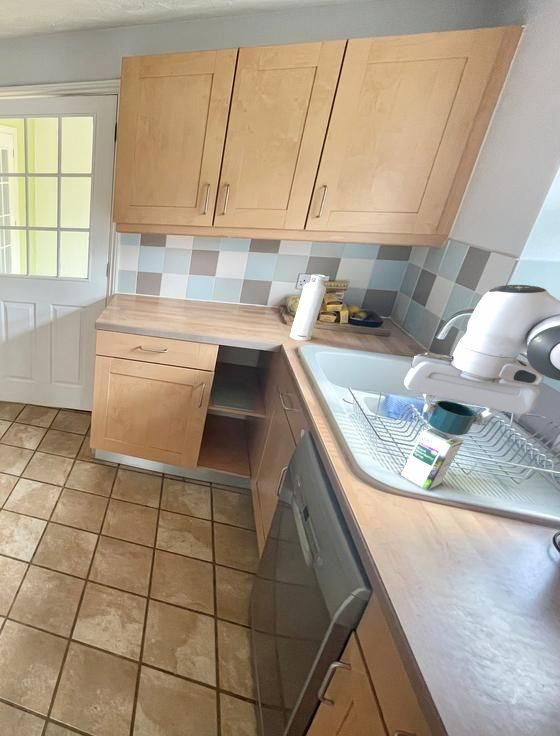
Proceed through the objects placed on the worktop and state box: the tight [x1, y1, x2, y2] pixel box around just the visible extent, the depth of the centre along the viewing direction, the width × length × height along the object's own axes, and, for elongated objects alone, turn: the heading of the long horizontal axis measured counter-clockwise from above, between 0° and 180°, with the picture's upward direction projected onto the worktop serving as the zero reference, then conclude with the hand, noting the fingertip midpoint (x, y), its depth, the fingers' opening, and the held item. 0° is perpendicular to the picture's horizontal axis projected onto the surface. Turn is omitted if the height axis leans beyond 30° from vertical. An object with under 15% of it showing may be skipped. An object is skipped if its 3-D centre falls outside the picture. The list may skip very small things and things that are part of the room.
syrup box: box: [400, 426, 465, 491], centre depth 96 cm, size 6×6×14 cm
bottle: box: [289, 273, 327, 342], centre depth 178 cm, size 8×8×28 cm
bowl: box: [426, 399, 478, 436], centre depth 92 cm, size 7×7×5 cm
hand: (451, 417), depth 91 cm, fingers closed on bowl, 7 cm apart
